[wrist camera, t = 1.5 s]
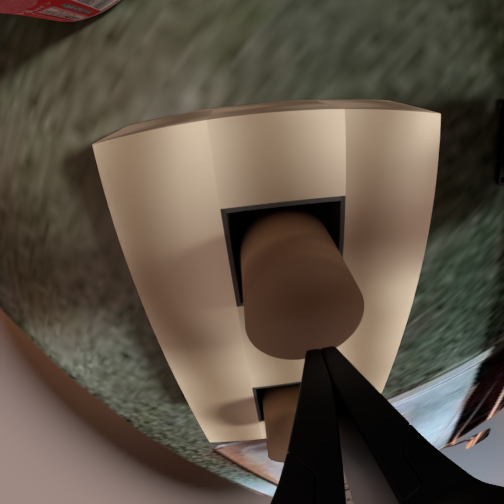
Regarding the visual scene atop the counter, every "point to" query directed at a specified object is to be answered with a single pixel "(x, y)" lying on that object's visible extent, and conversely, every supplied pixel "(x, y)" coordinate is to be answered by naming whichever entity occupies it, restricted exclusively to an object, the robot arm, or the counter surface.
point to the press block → (260, 197)
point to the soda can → (56, 8)
